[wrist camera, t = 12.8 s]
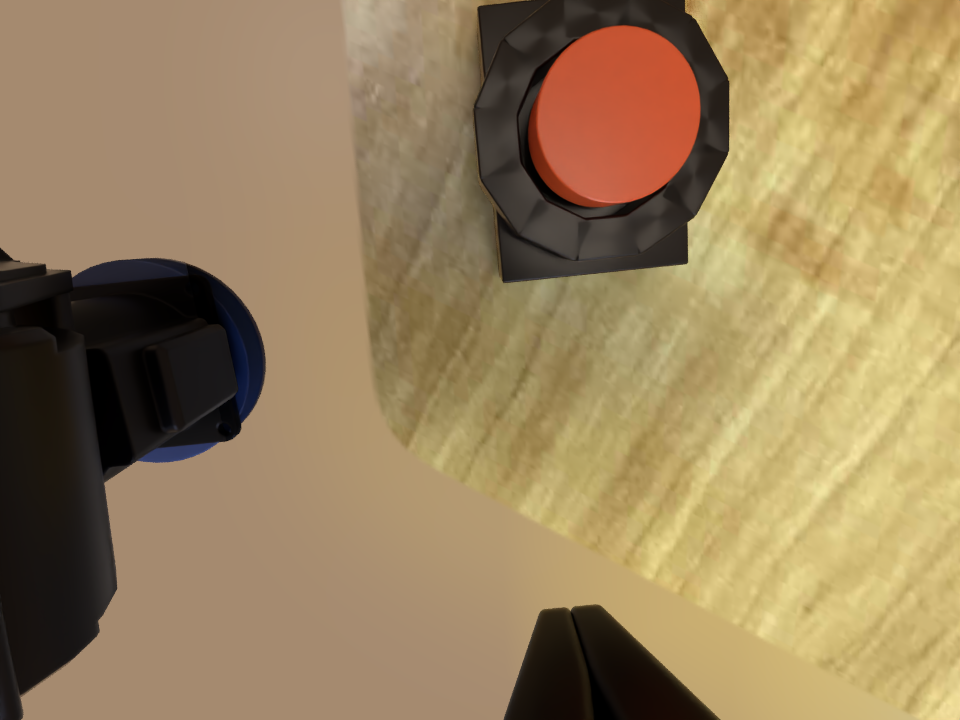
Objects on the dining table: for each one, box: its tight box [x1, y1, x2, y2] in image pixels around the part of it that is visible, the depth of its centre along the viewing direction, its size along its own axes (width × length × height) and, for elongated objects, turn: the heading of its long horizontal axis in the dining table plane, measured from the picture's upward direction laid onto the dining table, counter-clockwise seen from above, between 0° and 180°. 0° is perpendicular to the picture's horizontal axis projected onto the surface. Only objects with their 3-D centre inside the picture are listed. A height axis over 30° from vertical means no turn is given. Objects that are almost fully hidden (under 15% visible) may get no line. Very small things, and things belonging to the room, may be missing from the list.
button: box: [528, 25, 701, 207], centre depth 14 cm, size 4×4×2 cm
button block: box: [473, 0, 729, 283], centre depth 16 cm, size 7×8×4 cm
